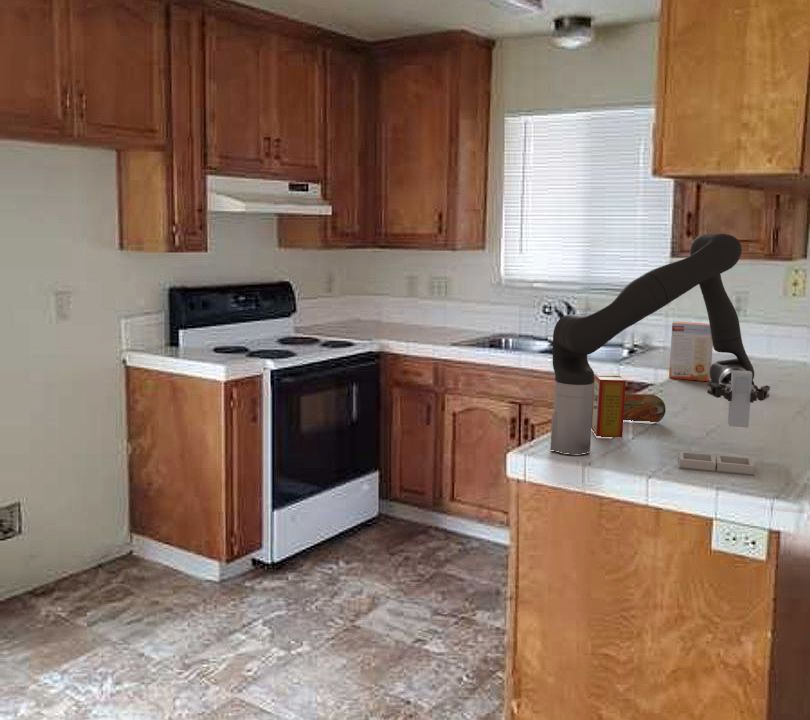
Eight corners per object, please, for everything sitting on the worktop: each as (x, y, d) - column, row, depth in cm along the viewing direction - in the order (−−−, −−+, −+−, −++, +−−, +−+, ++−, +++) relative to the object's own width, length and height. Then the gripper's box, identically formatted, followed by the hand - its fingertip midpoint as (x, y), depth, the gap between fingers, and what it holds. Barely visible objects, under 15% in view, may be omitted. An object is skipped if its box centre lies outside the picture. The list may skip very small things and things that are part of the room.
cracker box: (710, 380, 321) (715, 323, 318) (707, 382, 316) (711, 325, 313) (672, 376, 328) (676, 320, 325) (668, 378, 323) (672, 322, 320)
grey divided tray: (678, 474, 194) (679, 461, 194) (677, 461, 205) (678, 449, 204) (754, 481, 190) (755, 468, 189) (750, 468, 200) (751, 456, 200)
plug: (729, 426, 193) (733, 373, 191) (727, 422, 197) (731, 369, 195) (748, 428, 191) (752, 374, 189) (746, 423, 196) (750, 371, 194)
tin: (609, 422, 246) (611, 393, 245) (608, 420, 249) (610, 391, 248) (664, 425, 244) (666, 395, 242) (663, 423, 247) (665, 393, 245)
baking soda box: (622, 439, 225) (625, 379, 223) (596, 438, 226) (600, 378, 223) (615, 431, 235) (619, 372, 232) (591, 430, 235) (594, 372, 233)
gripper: (705, 366, 208) (708, 378, 192) (769, 370, 204) (777, 382, 188) (703, 397, 210) (705, 411, 193) (766, 401, 205) (774, 416, 189)
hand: (741, 397), depth 191 cm, fingers closed on plug, 4 cm apart
